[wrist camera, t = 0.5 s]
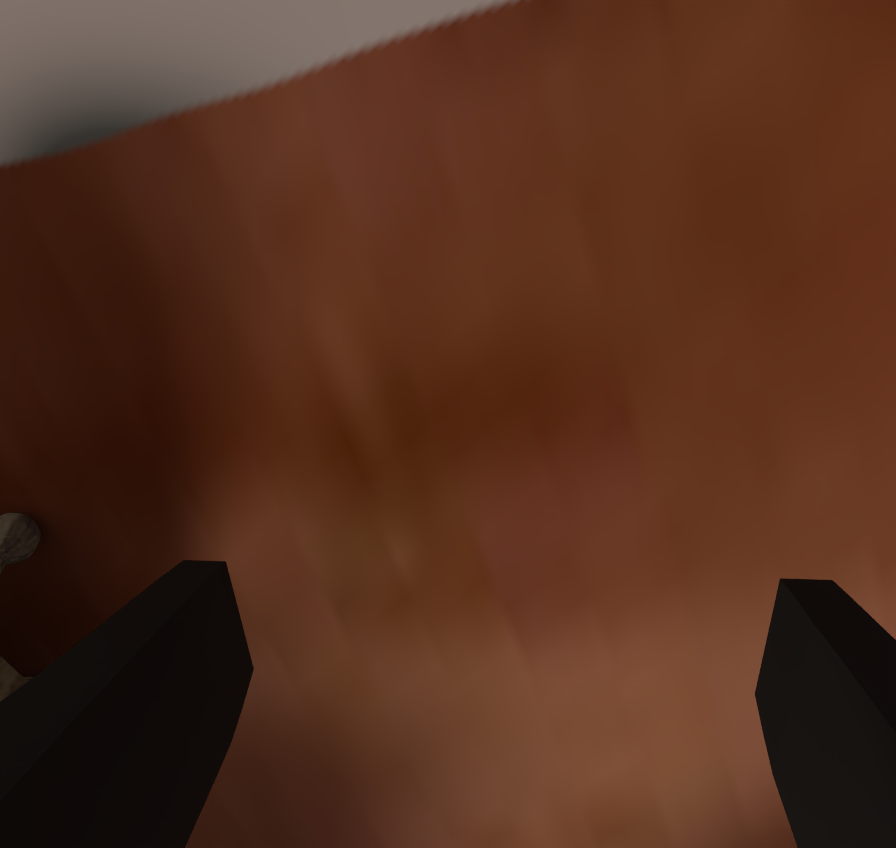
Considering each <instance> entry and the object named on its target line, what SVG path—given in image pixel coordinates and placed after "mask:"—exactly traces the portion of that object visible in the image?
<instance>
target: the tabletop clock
mask: <svg viewBox="0 0 896 848" xmlns="http://www.w3.org/2000/svg"><path fill="white" fill-rule="evenodd" d="M40 536H41V533H40V530H39V528H38V526H37V524H36V523H35V521H34V520H33V519H32V518H30V517H28V516H26V515H24V514H23V513H13V512H12V513H6V514H3V515H0V574H1V572H2V570H3V568H4V566H5V564H13V563H16V562H19V561H22V560H25V559H27V558H28V557H30V556H31V555H32V554H33V553H34V551H35V550H36V547H37V545H38V543H39V541H40ZM32 678H33V677H22V676H21V675H20V674H19V673H18V672H17V671H16V670H15V669H14V668H13V667H12V666H11V665H10V664H9V663H7V662H6V661H5V660H4V659H3V658H2V657H1V656H0V701H2V700H3V699H4V698H6V697H7V696H9V695H10V694H11V693H13V692H14V691H15V690H17V689H18V688H20V687H21V686H22V685H24V684H25V683H26V682H28V681H29V680H30V679H32Z"/></svg>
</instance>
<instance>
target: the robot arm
mask: <svg viewBox="0 0 896 848" xmlns="http://www.w3.org/2000/svg"><path fill="white" fill-rule="evenodd" d="M253 669H254V668H253V665H252V661H251V657H250V653H249V649H248V645H247V641H246V638H245V634H244V630H243V626H242V622H241V618H240V614H239V611H238V607H237V603H236V599H235V595H234V591H233V587H232V584H231V580H230V576H229V572H228V568H227V564H226V562H224V561H191V560H183V561H182V562H181V563H179V564H178V565H177V566H175V567H174V568H172V569H171V570H170V571H168V572H167V573H166V574H164V575H163V576H162V577H160V578H159V579H158V580H157V581H155V582H154V583H153V584H151V585H150V586H149V587H148V588H146V589H145V590H144V591H143V592H141V593H140V594H139V595H138V596H136V597H135V598H134V599H133V600H131V601H130V602H129V603H128V604H126V605H125V606H124V607H123V608H121V609H120V610H119V611H118V612H116V613H115V614H114V615H113V616H111V617H110V618H109V619H108V620H106V621H105V622H104V623H103V624H101V625H100V626H99V627H98V628H96V629H95V630H94V631H92V632H91V633H90V634H89V635H87V636H86V637H85V638H83V639H82V640H81V641H80V642H78V643H77V644H76V645H75V646H73V647H72V648H71V649H69V650H68V651H67V652H66V653H64V654H63V655H62V656H61V657H59V658H58V659H57V660H55V661H54V662H53V663H52V664H50V665H49V666H48V667H47V668H45V669H44V670H43V671H41V672H40V673H39V674H37V675H36V676H35V677H33V678H32V679H30V680H29V681H28V682H26V683H25V684H24V685H22V686H21V687H20V688H18V689H17V690H15V691H14V692H13V693H11V694H10V695H9V696H7V697H6V698H4V699H3V700H2V701H0V848H185V846H186V843H187V841H188V839H189V837H190V835H191V832H192V830H193V828H194V826H195V823H196V821H197V819H198V817H199V814H200V812H201V810H202V808H203V806H204V803H205V801H206V799H207V797H208V794H209V792H210V790H211V787H212V785H213V783H214V781H215V778H216V776H217V774H218V772H219V769H220V767H221V765H222V762H223V760H224V758H225V755H226V753H227V751H228V748H229V746H230V744H231V741H232V738H233V735H234V732H235V729H236V726H237V723H238V720H239V717H240V714H241V710H242V707H243V704H244V700H245V697H246V694H247V690H248V687H249V683H250V680H251V676H252V673H253ZM755 697H756V702H757V706H758V711H759V716H760V720H761V725H762V730H763V734H764V739H765V743H766V748H767V752H768V756H769V760H770V764H771V769H772V773H773V777H774V780H775V782H776V785H777V788H778V791H779V794H780V797H781V800H782V803H783V806H784V809H785V812H786V815H787V818H788V820H789V823H790V826H791V829H792V832H793V835H794V838H795V841H796V844H797V846H798V848H896V640H895V639H894V638H893V637H892V636H891V635H890V634H889V633H888V632H887V631H886V630H885V629H884V628H882V627H881V626H880V625H879V624H878V623H877V622H876V621H875V620H874V619H873V618H872V617H871V616H870V615H869V614H868V613H867V612H866V611H865V610H864V609H863V608H862V607H861V606H859V605H858V604H857V603H856V602H855V601H854V600H853V599H852V598H851V597H850V596H849V595H848V594H847V593H846V592H845V591H844V590H842V589H841V588H840V587H839V586H838V585H837V584H836V583H835V582H834V581H833V580H810V579H780V581H779V586H778V591H777V595H776V600H775V604H774V609H773V613H772V618H771V623H770V627H769V632H768V636H767V641H766V645H765V650H764V655H763V659H762V664H761V668H760V673H759V677H758V682H757V687H756V691H755Z"/></svg>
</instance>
